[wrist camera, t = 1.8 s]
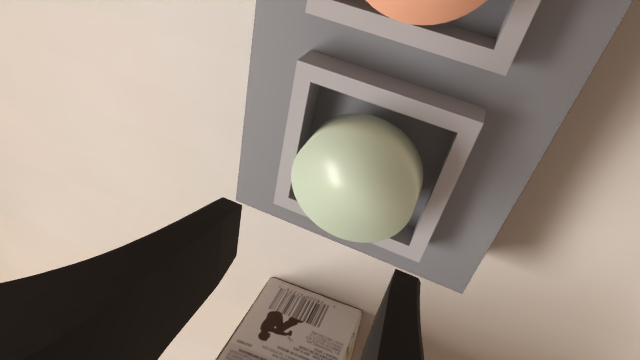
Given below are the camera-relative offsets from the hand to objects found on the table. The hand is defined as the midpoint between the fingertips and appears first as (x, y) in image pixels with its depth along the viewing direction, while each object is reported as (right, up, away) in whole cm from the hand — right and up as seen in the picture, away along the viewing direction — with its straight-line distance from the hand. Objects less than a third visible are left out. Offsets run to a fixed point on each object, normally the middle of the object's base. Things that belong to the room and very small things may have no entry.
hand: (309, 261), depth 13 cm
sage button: (+2, +3, +4) cm, 5 cm away
